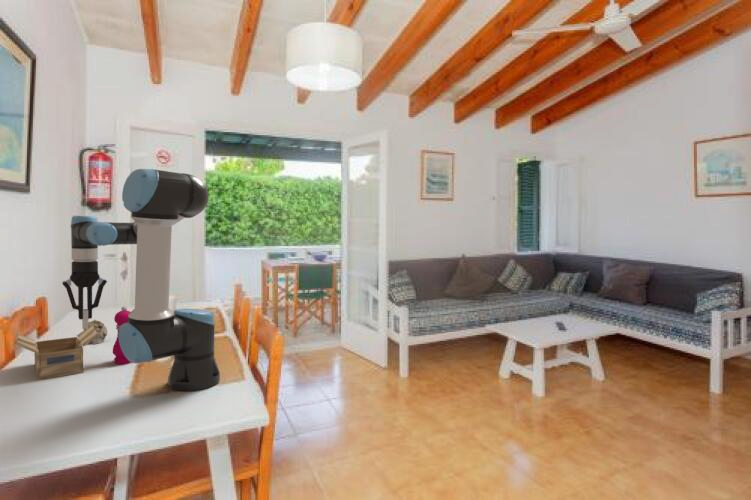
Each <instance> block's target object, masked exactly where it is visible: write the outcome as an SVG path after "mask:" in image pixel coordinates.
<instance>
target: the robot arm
mask: <svg viewBox="0 0 751 500" xmlns="http://www.w3.org/2000/svg"><path fill="white" fill-rule="evenodd" d="M121 194H122V195H121V197H122V198H121V200H122V202H123V207H124V208H125V209H126V210H127V211H128V212H131V213H130V214H131V216H130V217H131V219H132V220H133V222H111V221H110V222H107V221H106V222H105V221H98V217H97V216H94V215H73V216H72V217H71V220H70V232H71V233H70V236H71V237H70V238H71V239H70V241H71V244H70V245H71V260H73V261H72V262H71V274H70V276H69V278H68V279H67V280H63V281H62V282H61V283H62V285H63V287H64V288H65V289H66V292H67V294H68V298H69V301H70V304H71V305H70V306H71V308H72V309H73V310H77V313H78V316H77V317H78V319H79V320H80V321H81V322H82V323H81V324H82V329H83V330H84V329H88V322H89V320H90V319H92V318H93V309H96V308H98V307H99V304H100V301H101V297H102V294H103V289H104V287H105V286H106V284H107V282H108V281H107V279H105V278H102V277H101V276H100V274H99V261H97V260H98V258H99V252H98V251H99V248H98V247H101V246H105V247H106V246H108V245H109V246H110V245H111V246H113V245H136V252H135V254H136V255H135V256H136V257H135V259H136V260H135V286H134V287H135V290H134V293H135V294H134V295H135V296H134V309H132V310H131V311H130V313H129V315H128V323H124V324H122V325H121V326H120V329H119V332H118V331H117V335H118V337H119V343H120V347H121V350H122V352H123V354H124V355H125V357H126V358H127V359H128V360H129V361H130V362H132V363H131V364H142V363H150V362H153V361H156V360H161V359H165V358H168V357H173V359H174V360H173V363H172V365H171V368H170V372H169V375H168V378H167V387H168V388H170V389H171V390H174V391H178V392H179V391H180V392H190V391H191V392H192V391H200V390H205V389H208V388H211V387H213V386H216V385H217V384H218V383H220V380H221V372H220V368H219V366H218V364H217V360H216V358H215V326H216V324H215V323H216V322H215V315H214V313H213V312H212V311H210V310H208V309H207V310H206V309H201V308H200V309H199V308H176V309H175V310H174V311H173V310H172V309H171V308H170V307H169V306H170V305H169V303H170V302H169V301H170V282H171V281H170V279H171V278H170V277H171V255H172V253H171V252H172V251H171V250H172V227H173V225H175V224H177V223H179V222H181V221H182V220H184V219H190V218H194V217H196V216H198V215H199V214H200V213H202V212H203V211H204V210H205V209H206V207H207V205H208V203H209V198H210V195H209V190H208V188H207V186H206V184H205V183H204V182H203V181H202V180H201V179H200V178H198V177H197V176H195V175H194V174H193V175H192V174H190V173H186V172H185V173H183V172H182V173H181V172H174V171H167V170H159V169H153V168H152V169H151V168H150V169H149V168H137V169H135V170H133V171H132V172H130V173H129V175H128V177H127V178H126V179H125V181H124V184H123V188H122V193H121ZM97 282H98V283H97ZM72 283H73V284H74V285H75V286H76V287H77V292H78V294H77V300H78V301H77V303H78V304H77V303H76V299H75V297H74V293H73V291H72V288H71V286H72ZM96 283H97V284H98V287H97V291H96V293H95V294H96V295H95V298H94V300H93V287H94V285H95V284H96ZM84 288H86V299H87V300H86V301H87V302H86V303H87V304H86V307H87V308H84Z"/></svg>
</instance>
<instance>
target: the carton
mask: <svg viewBox="0 0 751 500" xmlns="http://www.w3.org/2000/svg"><path fill="white" fill-rule="evenodd" d="M35 344H36V349H37V353H35V352H34V369H35V374H36V380H37V381H39V380H40V379H41V380H46V379H51V378H57V377H58V378H59V377H64V376H69V375H76V374H81V373H84V347H83V346H82V344H81V342H80V340H79V339H78V337H77V336H72V337H65V338H64V337H63V338H56V339H48V340H40V341H35Z"/></svg>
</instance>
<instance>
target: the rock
mask: <svg viewBox="0 0 751 500" xmlns="http://www.w3.org/2000/svg"><path fill="white" fill-rule="evenodd" d="M91 325H92V326H93V328H94V329H95V330H96V332H97V333H98V334H99V336H98V337H96V338H95V339H94V340H92V341H91V343H92V344H93V345H98V344H101V343H103V342H104V341H105V339H106V337H107V335H108V329H107V327H106V325H105V323H103V322H101V320H96V319H94V320H92V321H88V327H90V326H91ZM84 330H85V329H83V331H84Z"/></svg>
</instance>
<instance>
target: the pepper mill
mask: <svg viewBox="0 0 751 500" xmlns="http://www.w3.org/2000/svg"><path fill="white" fill-rule="evenodd" d="M130 312H131V311H130V310H128V307H127V306H124V305H123V306H121V310H120V311H117V313H115V315H114V323H116V325H115V327H116V328H115V329H116V330H117V333H118V332H119V329H120V326H121V325H122V324H124V323H128V315H129V313H130ZM112 354H113V355H114V356H115V357H114V358H113V359H114V364H116V365H120V366H121V365H128V364H133V363H132V362H130V361H129V360H128V359H127V358H126V357H125V355H124V354H123V352H122V350H121V347H120V343H119V337H118V334H117V336H116V340H115V342H114V344H113V347H112Z"/></svg>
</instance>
